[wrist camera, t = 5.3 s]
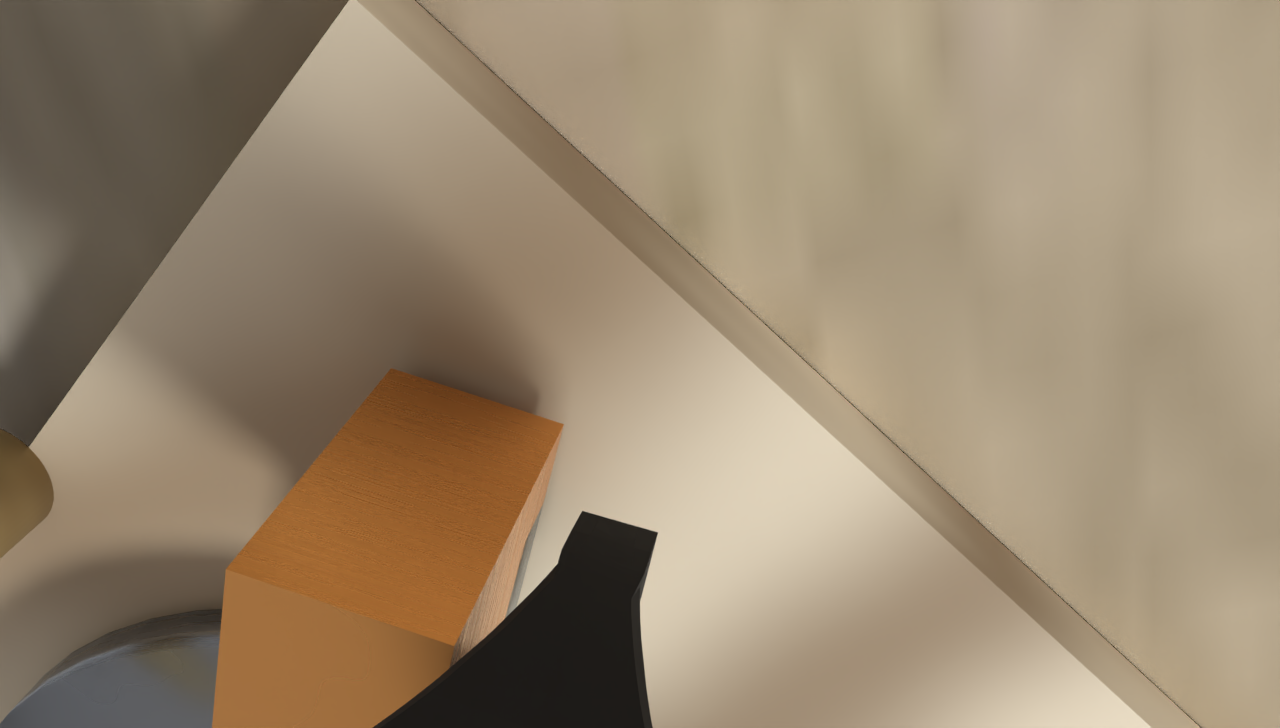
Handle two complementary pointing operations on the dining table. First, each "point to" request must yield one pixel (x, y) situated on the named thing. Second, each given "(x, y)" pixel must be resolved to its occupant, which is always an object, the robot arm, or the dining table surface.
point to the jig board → (535, 383)
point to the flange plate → (338, 581)
